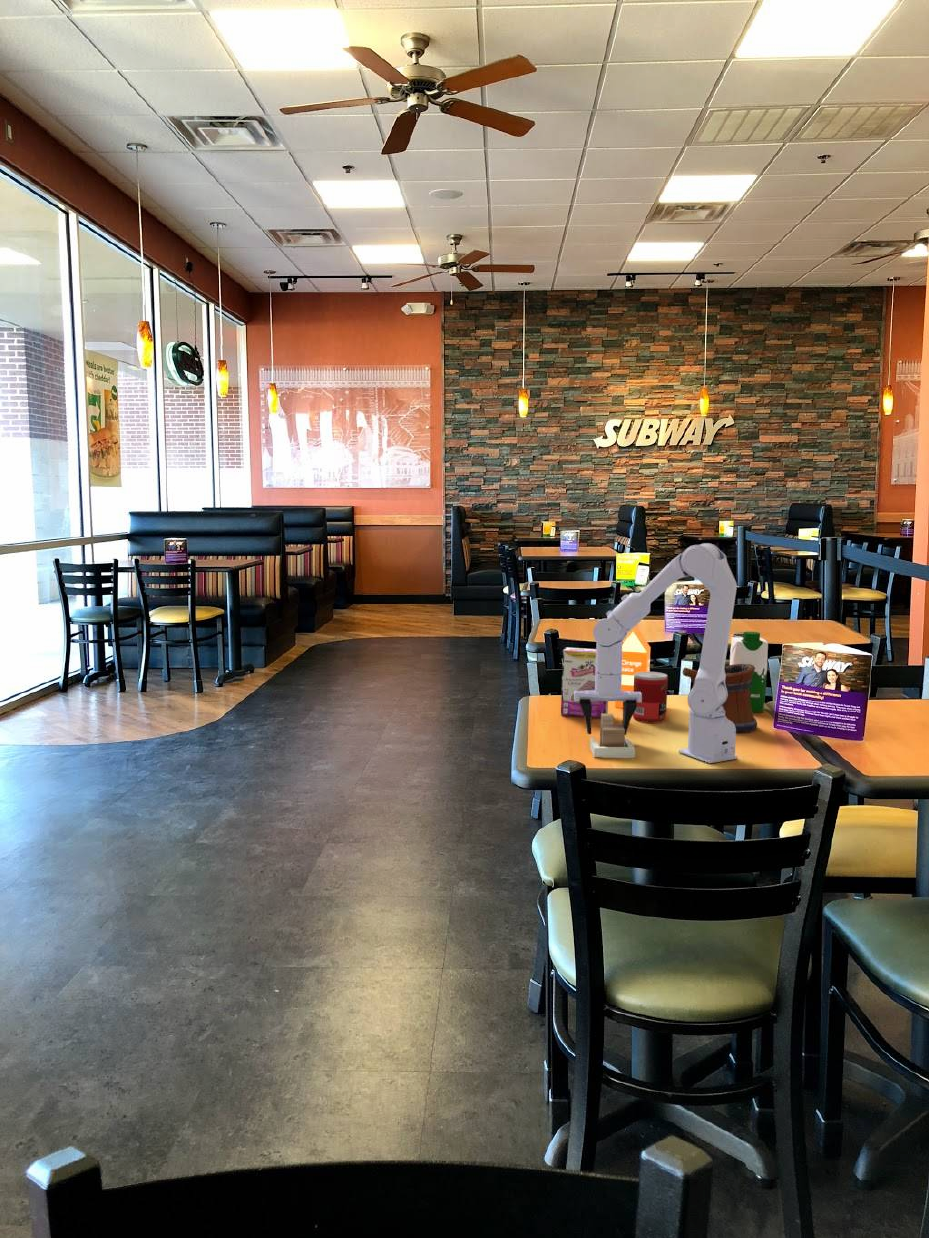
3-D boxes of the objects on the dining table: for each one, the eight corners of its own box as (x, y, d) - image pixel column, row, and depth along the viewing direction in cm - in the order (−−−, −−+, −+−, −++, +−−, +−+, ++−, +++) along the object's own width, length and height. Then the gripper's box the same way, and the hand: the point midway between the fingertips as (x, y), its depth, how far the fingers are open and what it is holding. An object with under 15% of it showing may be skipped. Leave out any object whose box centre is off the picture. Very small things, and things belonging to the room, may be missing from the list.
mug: (689, 734, 211) (692, 669, 209) (672, 722, 223) (675, 660, 220) (765, 733, 213) (769, 669, 211) (745, 721, 224) (748, 659, 222)
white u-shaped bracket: (634, 758, 192) (635, 748, 192) (594, 757, 192) (594, 748, 192) (629, 748, 200) (629, 738, 199) (589, 747, 200) (590, 738, 200)
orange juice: (614, 707, 238) (616, 629, 235) (619, 700, 246) (621, 625, 243) (645, 709, 235) (648, 631, 233) (649, 702, 244) (651, 626, 241)
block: (624, 755, 194) (624, 727, 193) (602, 755, 194) (603, 727, 193) (616, 740, 206) (616, 713, 205) (595, 739, 206) (596, 713, 205)
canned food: (666, 723, 221) (667, 678, 220) (632, 721, 223) (633, 676, 221) (665, 716, 229) (667, 672, 227) (632, 714, 230) (634, 670, 229)
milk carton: (731, 712, 233) (735, 633, 230) (725, 704, 242) (729, 628, 239) (767, 713, 232) (771, 634, 229) (760, 705, 241) (764, 629, 238)
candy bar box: (560, 716, 228) (561, 650, 225) (563, 711, 232) (564, 646, 230) (606, 719, 225) (608, 652, 223) (608, 714, 230) (610, 649, 227)
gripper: (639, 669, 206) (636, 729, 208) (573, 668, 207) (571, 728, 209) (644, 675, 199) (641, 737, 201) (576, 674, 200) (574, 736, 202)
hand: (606, 733), depth 204 cm, fingers open, 7 cm apart
